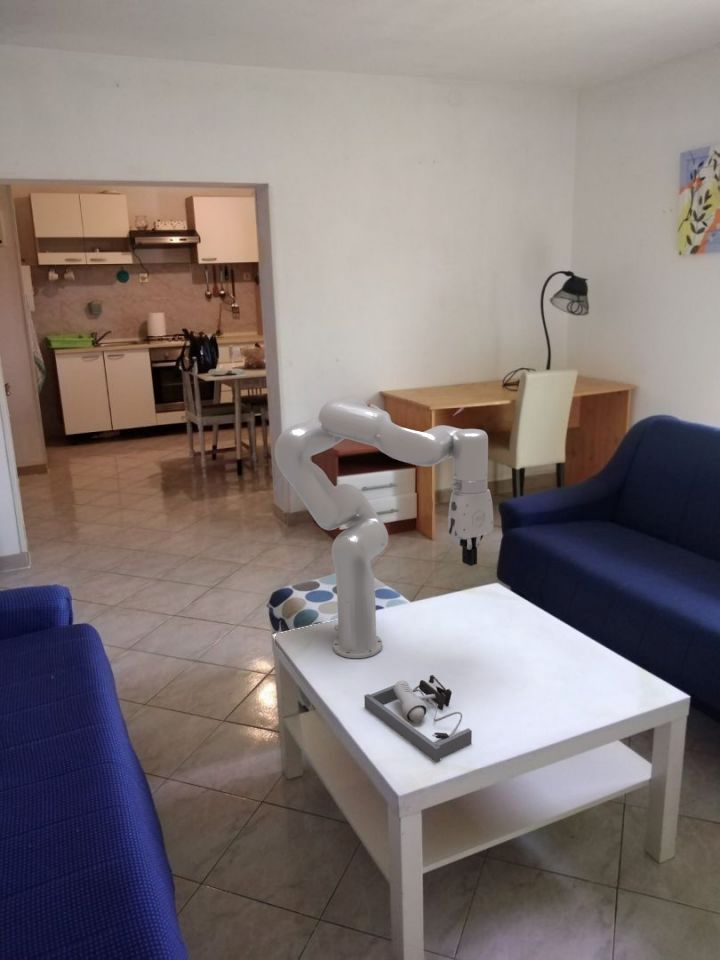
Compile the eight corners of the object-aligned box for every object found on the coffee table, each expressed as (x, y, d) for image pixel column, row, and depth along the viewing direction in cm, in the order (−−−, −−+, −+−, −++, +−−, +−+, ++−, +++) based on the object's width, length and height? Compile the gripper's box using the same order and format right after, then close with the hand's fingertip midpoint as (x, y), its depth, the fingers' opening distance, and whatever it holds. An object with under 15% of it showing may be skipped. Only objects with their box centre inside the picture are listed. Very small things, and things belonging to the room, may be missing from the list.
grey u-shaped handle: (364, 707, 159) (364, 695, 158) (399, 693, 164) (399, 681, 163) (436, 763, 139) (436, 749, 139) (473, 745, 144) (473, 731, 144)
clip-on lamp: (471, 745, 150) (433, 686, 165) (478, 721, 147) (438, 664, 162) (420, 755, 145) (385, 694, 160) (426, 730, 143) (390, 670, 157)
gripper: (456, 494, 154) (455, 576, 159) (506, 483, 162) (505, 560, 167) (433, 487, 160) (433, 566, 165) (483, 476, 168) (482, 552, 173)
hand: (469, 563), depth 166 cm, fingers closed
